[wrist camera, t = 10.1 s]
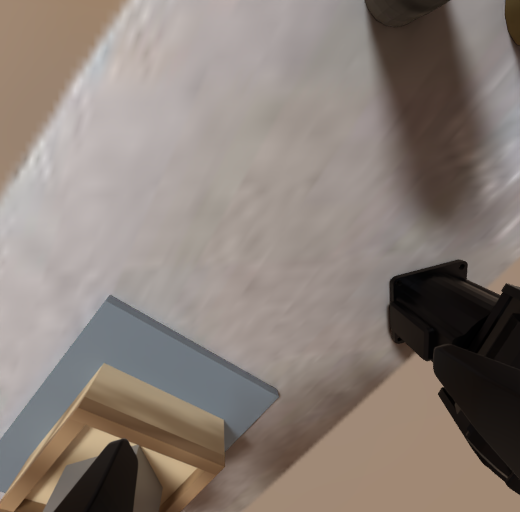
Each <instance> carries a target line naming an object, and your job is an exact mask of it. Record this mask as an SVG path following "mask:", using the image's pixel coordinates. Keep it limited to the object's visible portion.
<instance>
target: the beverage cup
mask: <svg viewBox="0 0 520 512" xmlns="http://www.w3.org/2000/svg"><path fill="white" fill-rule="evenodd" d="M365 1H366V4H367V7H368V9H369V10H370V12H371V13H372V15H373V16H374V18H375V19H377V20H378V21H380V22H381V23H383V24H384V25H388V26H393V27H397V26H402V25H406V24H408V23H409V22H411V21H412V20H414V19H416V18H418V17H420V16H422V15H426V14H428V13H429V12H431V11H433V10H435V9H436V8H438V7H440V6H442V5H443V4H445V3H447V2H448V1H450V0H365Z"/></svg>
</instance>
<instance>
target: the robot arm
mask: <svg viewBox="0 0 520 512" xmlns="http://www.w3.org/2000/svg"><path fill="white" fill-rule="evenodd" d="M459 266H460V267H459ZM467 267H468V264H467V262H465V261H463V260H455V261H451V262H447V263H443V264H440V265H436V266H432V267H428V268H424V269H420V270H417V271H413V272H409V273H405V274H401V275H397V276H394V277H393V278H392V279H391V281H390V293H391V303H390V326H391V329H392V339H393V340H394V341H395V342H396V343H397V344H400V343H404V342H405V343H406V344H407V345H408V346H409V347H411V348H412V349H413V350H414V351H415V352H416V353H417V354H418V355H419V356H420V357H421V358H422V359H423V360H425V361H430V360H431V361H432V362H433V369H434V373H435V375H436V377H437V378H438V379H439V381H440V382H441V383H442V385H443V386H444V388H443V387H442V388H441V390H440V392H439V393H438V395H439V397H440V398H441V400H442V402H443V403H444V405H445V406H446V408H447V410H448V411H449V413H450V414H451V416H452V417H453V419H454V421H455V422H456V424H457V425H458V427H459V429H460V430H461V432H462V433H463V435H464V437H465V438H466V440H467V441H468V443H469V445H470V446H471V448H472V449H473V451H474V452H475V453H476V454H477V456H478V457H479V459H480V460H481V462H482V463H483V464H484V465H485V466H487V467H488V468H489V469H491V470H492V471H493V472H494V473H495V474H496V475H497V476H498V477H500V478H501V479H502V480H503V481H505V483H506V485H507V486H508V487H509V488H510V489H512V490H513V491H515V492H516V493H518V494H519V495H520V287H517V286H513V285H510V284H507V283H506V284H505V286H504V287H503V289H502V292H503V293H502V294H501V295H499V294H497V293H495V292H492V291H490V290H488V289H486V288H484V287H482V286H480V285H477V284H475V283H473V282H471V281H469V280H467ZM397 281H399V282H398V283H397ZM396 283H397V284H396ZM398 337H399V338H398ZM137 474H138V458H137V455H136V454H135V452H134V450H133V448H132V447H131V445H130V443H129V441H128V440H127V439H125V438H122V439H119V440H115V441H112V442H110V443H109V444H108V445H107V446H106V447H105V448H104V449H103V451H102V452H101V453H100V454H99V455H98V457H97V458H96V459H95V460H94V462H93V463H92V464H91V465H90V467H89V468H88V469H87V470H86V472H85V473H84V474H83V475H82V477H81V478H80V479H79V480H78V482H77V483H76V484H75V485H74V486H73V488H72V489H71V490H70V491H69V493H68V494H67V495H66V496H65V498H64V499H63V500H62V501H61V503H60V504H59V505H58V506H57V508H56V509H55V510H54V511H53V512H133V509H134V500H135V492H136V483H137Z"/></svg>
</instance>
